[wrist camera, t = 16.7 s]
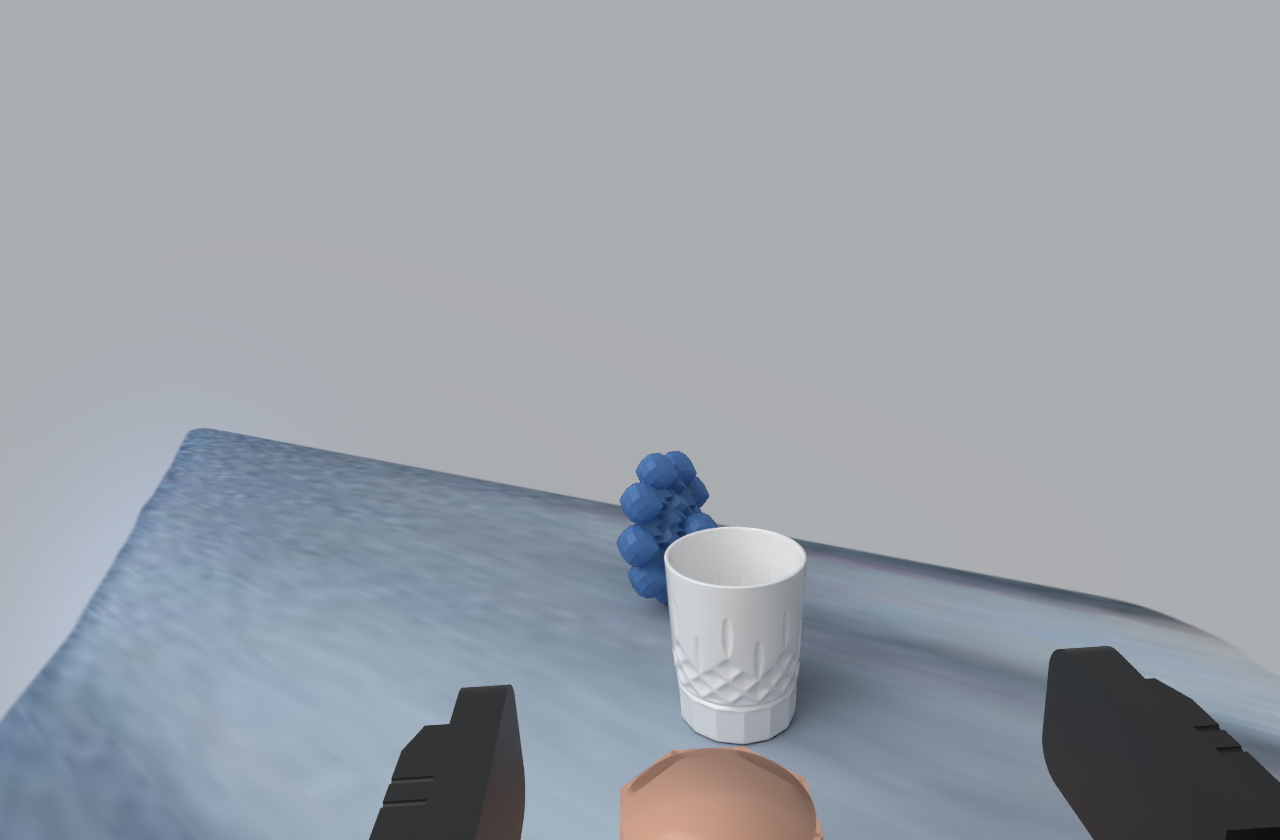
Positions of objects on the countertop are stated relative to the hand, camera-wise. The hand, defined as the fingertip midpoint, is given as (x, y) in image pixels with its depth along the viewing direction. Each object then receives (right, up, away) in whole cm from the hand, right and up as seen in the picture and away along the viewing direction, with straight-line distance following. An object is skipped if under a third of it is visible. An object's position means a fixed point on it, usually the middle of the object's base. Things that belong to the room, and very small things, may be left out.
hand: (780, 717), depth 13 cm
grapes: (+1, -9, +50) cm, 51 cm away
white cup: (+4, -13, +37) cm, 40 cm away
